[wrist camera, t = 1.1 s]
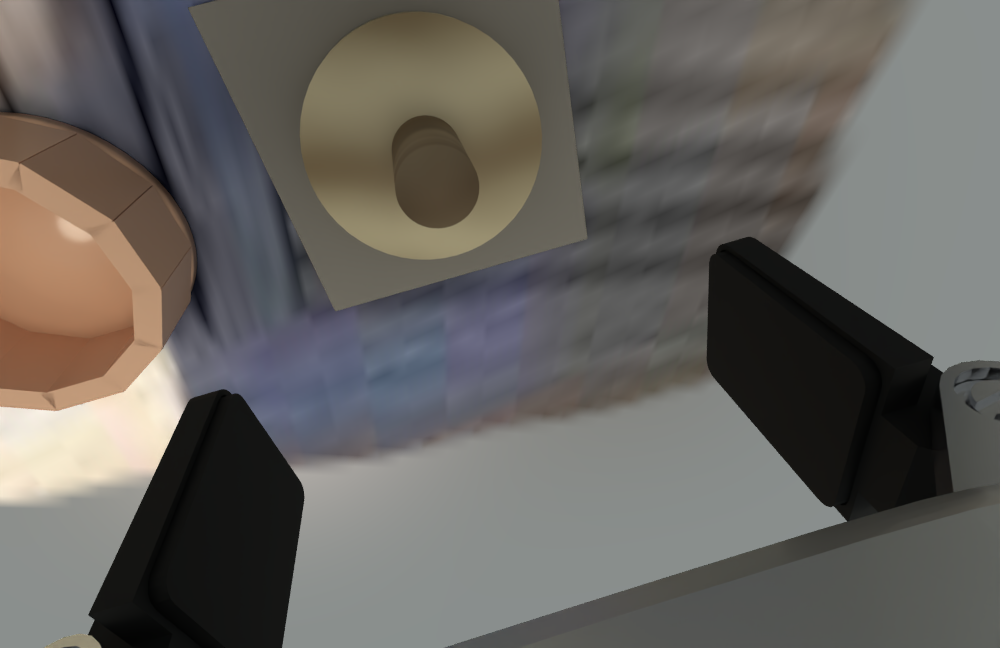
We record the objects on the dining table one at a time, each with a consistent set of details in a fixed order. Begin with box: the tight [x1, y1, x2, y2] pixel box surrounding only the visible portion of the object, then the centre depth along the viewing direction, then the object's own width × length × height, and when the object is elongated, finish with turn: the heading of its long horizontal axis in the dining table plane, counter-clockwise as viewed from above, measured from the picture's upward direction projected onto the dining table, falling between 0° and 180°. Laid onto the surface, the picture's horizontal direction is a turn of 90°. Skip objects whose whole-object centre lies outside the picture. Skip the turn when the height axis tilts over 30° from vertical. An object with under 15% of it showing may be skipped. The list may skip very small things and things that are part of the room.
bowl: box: [0, 112, 197, 411], centre depth 21 cm, size 11×11×5 cm
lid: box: [300, 11, 542, 260], centre depth 21 cm, size 10×10×6 cm
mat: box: [188, 0, 587, 311], centre depth 24 cm, size 14×14×1 cm
